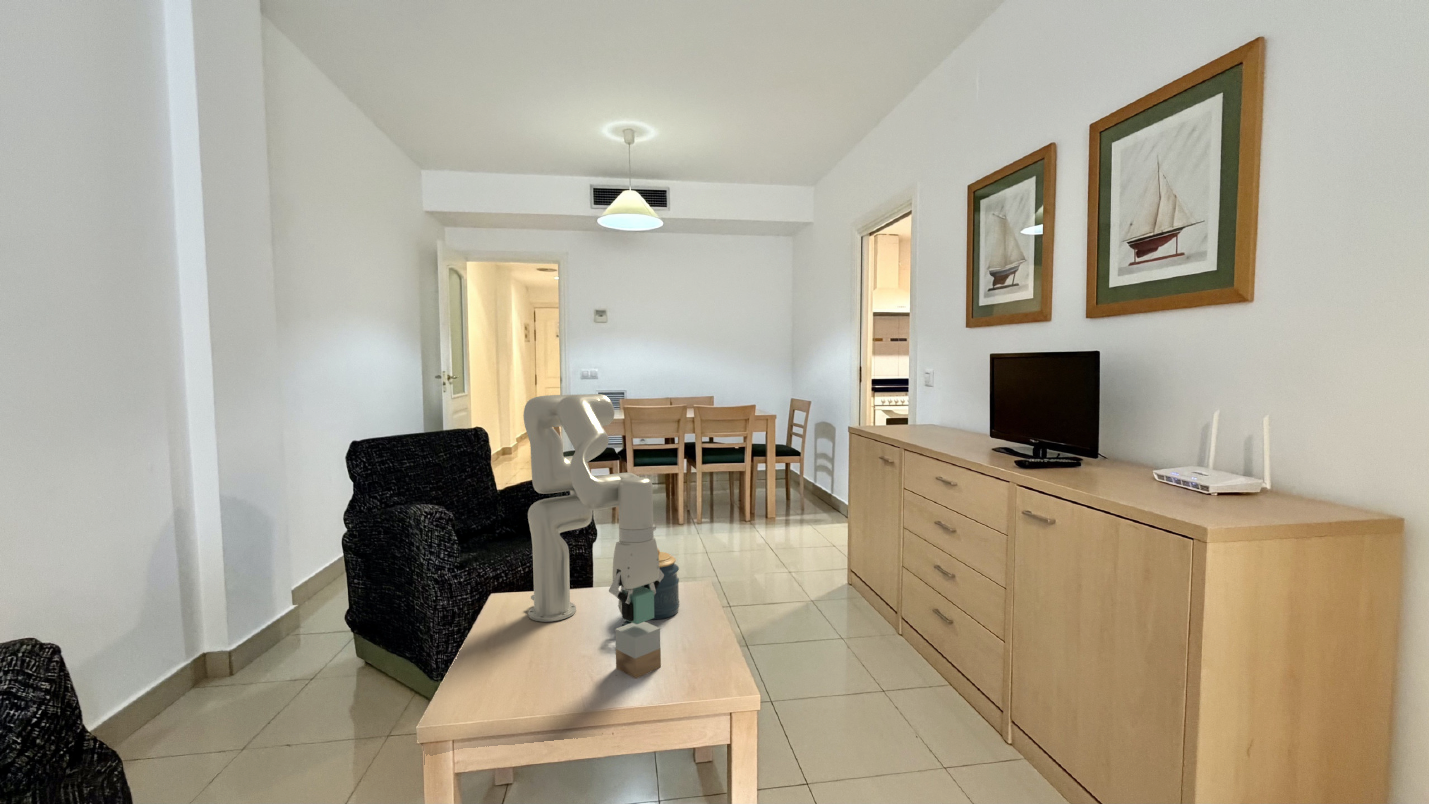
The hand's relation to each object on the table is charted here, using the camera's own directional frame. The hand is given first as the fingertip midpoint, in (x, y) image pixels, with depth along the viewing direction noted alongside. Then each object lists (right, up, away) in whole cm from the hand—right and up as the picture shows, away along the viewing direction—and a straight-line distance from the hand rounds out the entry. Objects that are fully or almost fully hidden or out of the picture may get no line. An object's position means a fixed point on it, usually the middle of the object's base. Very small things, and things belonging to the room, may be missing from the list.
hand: (638, 614), depth 136 cm
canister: (+1, -11, +33) cm, 35 cm away
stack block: (0, -1, 0) cm, 1 cm away
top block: (0, -8, 0) cm, 8 cm away
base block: (0, -12, 0) cm, 12 cm away
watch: (-3, -11, +19) cm, 22 cm away
